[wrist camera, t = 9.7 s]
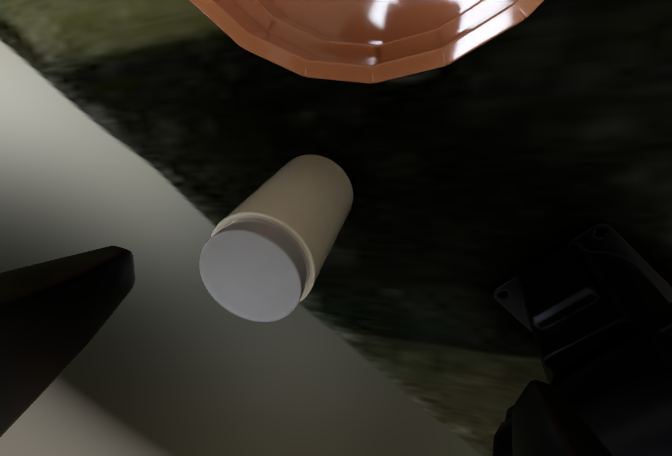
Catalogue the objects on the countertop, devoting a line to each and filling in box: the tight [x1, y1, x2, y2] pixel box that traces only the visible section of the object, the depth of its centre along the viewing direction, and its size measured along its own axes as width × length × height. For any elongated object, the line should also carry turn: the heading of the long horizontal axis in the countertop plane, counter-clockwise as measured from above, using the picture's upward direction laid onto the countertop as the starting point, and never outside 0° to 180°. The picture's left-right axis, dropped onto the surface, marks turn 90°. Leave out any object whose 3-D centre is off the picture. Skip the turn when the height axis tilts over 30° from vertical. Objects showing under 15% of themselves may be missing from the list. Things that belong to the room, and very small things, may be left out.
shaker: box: [199, 155, 353, 322], centre depth 17 cm, size 4×4×8 cm
